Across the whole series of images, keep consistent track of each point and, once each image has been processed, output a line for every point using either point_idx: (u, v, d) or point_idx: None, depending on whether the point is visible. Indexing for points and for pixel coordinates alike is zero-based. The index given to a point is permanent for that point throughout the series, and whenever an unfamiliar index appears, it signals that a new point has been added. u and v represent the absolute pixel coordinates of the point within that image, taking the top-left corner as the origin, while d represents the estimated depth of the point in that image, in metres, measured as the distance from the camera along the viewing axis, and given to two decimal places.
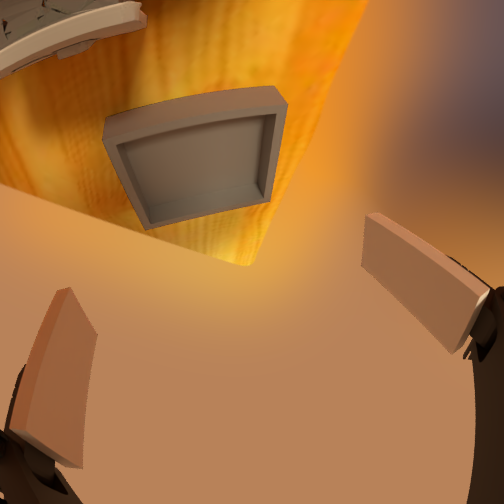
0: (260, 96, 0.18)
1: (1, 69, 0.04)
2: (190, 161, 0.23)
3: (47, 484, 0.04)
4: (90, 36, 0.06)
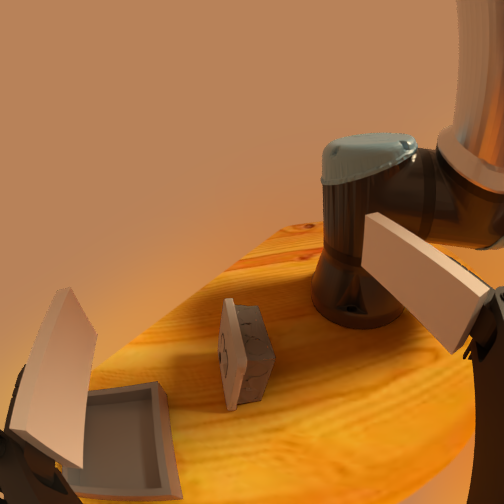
0: (174, 482, 0.17)
1: (229, 319, 0.26)
2: (115, 440, 0.21)
3: (47, 484, 0.04)
4: (231, 354, 0.23)
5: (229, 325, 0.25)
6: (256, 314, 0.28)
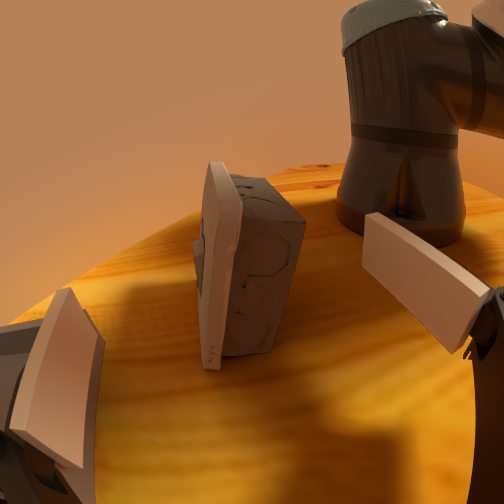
0: None
1: (212, 171, 0.14)
2: None
3: (47, 484, 0.04)
4: (209, 215, 0.11)
5: (211, 177, 0.13)
6: (261, 182, 0.16)
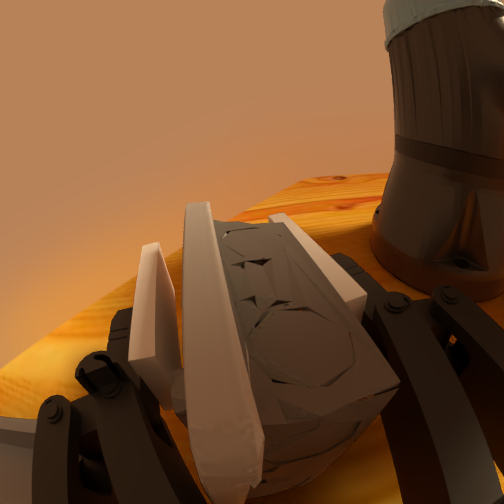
0: None
1: (185, 243, 0.07)
2: None
3: None
4: None
5: (183, 262, 0.06)
6: (281, 237, 0.09)
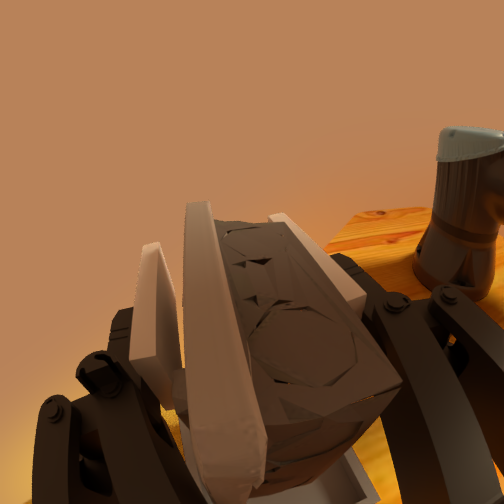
0: None
1: (186, 243, 0.07)
2: None
3: None
4: None
5: (184, 262, 0.06)
6: (282, 237, 0.09)
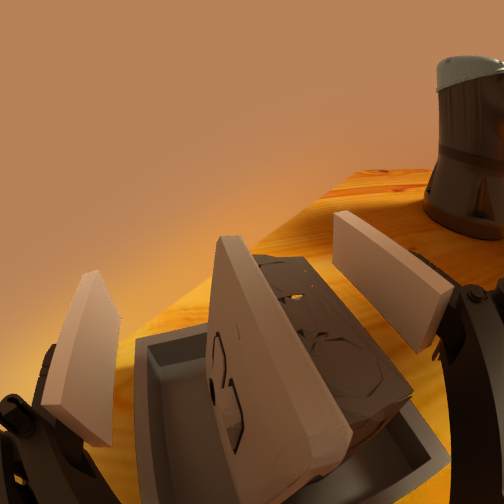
0: None
1: (239, 282, 0.08)
2: None
3: (74, 466, 0.04)
4: (263, 407, 0.05)
5: (243, 300, 0.07)
6: (306, 273, 0.10)
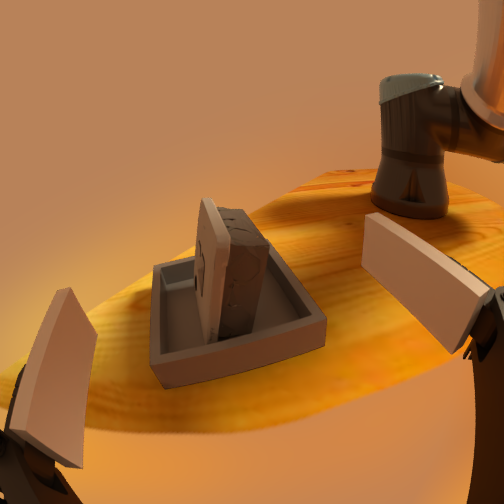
0: None
1: (206, 209, 0.20)
2: None
3: (47, 484, 0.04)
4: (208, 243, 0.18)
5: (206, 214, 0.20)
6: (240, 213, 0.23)
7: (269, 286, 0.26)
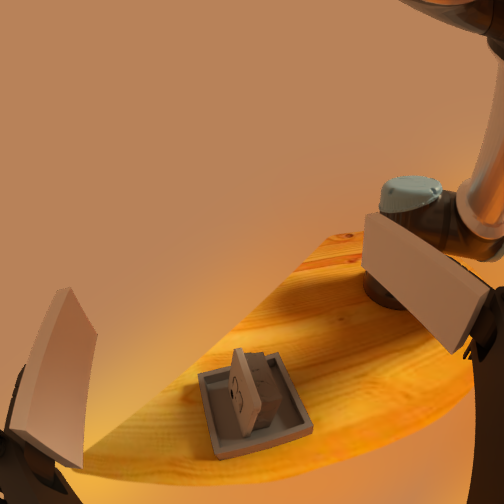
0: None
1: (241, 368, 0.30)
2: None
3: (47, 484, 0.04)
4: (247, 397, 0.27)
5: (242, 373, 0.29)
6: (262, 360, 0.32)
7: (279, 390, 0.36)
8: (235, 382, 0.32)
